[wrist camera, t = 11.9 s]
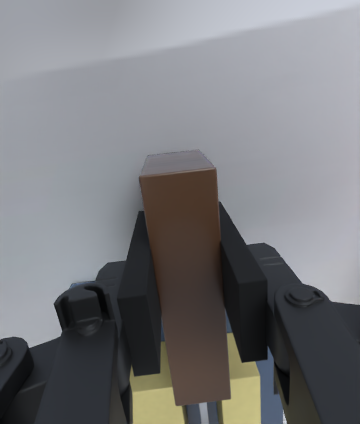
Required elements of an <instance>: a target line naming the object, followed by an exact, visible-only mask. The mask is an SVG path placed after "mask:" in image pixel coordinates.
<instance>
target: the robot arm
mask: <svg viewBox="0 0 360 424" xmlns="http://www.w3.org/2000/svg"><path fill="white" fill-rule="evenodd" d="M219 216H220V232H221V241H220V244H221V259H222V274H223V289H224V304H225V310H226V313H227V316H228V320H229V323H230V326H231V329H232V333H233V336H234V339H235V343H236V346H237V349H238V352H239V356H240V359H241V362H242V363H246V362H254V361H262V360H268V347H269V350H270V352H271V354H272V356H273V359H274V372H273V390H274V395H278V392H279V395H280V399H281V403H282V406H283V410H284V414H285V417H286V421H287V424H360V305H355V304H344V303H337V302H331V301H330V300H329V298H328V297H327V296H326V295H325V294H324V293H323V292H322V291H320V290H319V289H317V288H315V287H313V286H309V285H305V284H302V282H301V281H300V280H299V279H298V277H297V276H296V275H295V274H294V272H293V271H292V270H291V268H290V267H289V266H288V265H287V264H286V263H285V261H284V260H283V258H282V257H280V255H279V253H278V252H277V251H276V250H275V248H273V247H271V246H269V245H267V244H266V243H258V244H250V245H246V243H245V242H244V240H243V238H242V237H241V235H240V233H239V232H238V230H237V228H236V227H235V225H234V224H233V222H232V220H231V219H230V217H229V215H228V214H227V212H226V210H225V209H224V207H223V205H222V204H221V202H219ZM54 306H55V309H56V312H57V316H58V319H59V322H60V325H61V328H62V333H61V336H60V337H58V338H56V339H54V340H51V341H49V342H46V343H43V344H40V345H37V346H35V347H32V348H29V347H28V344H27V342H26V341H25V340H24V339H22V338H18V337H10V338H4V339H1V340H0V424H133V394H132V389H131V385H130V380H129V379H130V372H131V365H132V369H133V373H134V377H136V376H144V375H152V374H160V367H161V310H160V304H159V298H158V291H157V285H156V279H155V273H154V267H153V261H152V254H151V249H150V244H149V238H148V232H147V226H146V219H145V213H144V211H139V212H138V216H137V220H136V224H135V228H134V232H133V236H132V240H131V244H130V248H129V252H128V256H127V259H126V261H119V262H111V263H107V264H106V265H105V266H104V267H103V268H102V269H101V270H100V271H99V272H98V275H97V277H96V281H95V282H94V283H85V284H81V285H78V286H75V287H73V288H71V289H69V290H67V291H65V292H64V293H63V294H61V295H60V296H59V297H58V298H57V300H56V301H55V303H54Z"/></svg>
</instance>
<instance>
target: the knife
mask: <svg viewBox="0 0 360 424" xmlns="http://www.w3.org/2000/svg"><path fill="white" fill-rule="evenodd" d="M139 182H140V188H141V195H142V201H143V207H144V213H145V219H146V226H147V232H148V238H149V244H150V249H151V254H152V261H153V267H154V273H155V279H156V285H157V291H158V298H159V304H160V310H161V319H162V325H163V332H164V338H165V344H166V350H167V356H168V363H169V369H170V375H171V381H172V388H173V394H174V400H175V405H176V406H183V405H191V404H199V409H200V417H201V424H209V419H208V410H207V402H214V401H222V400H230V399H231V387H230V371H229V356H228V340H227V325H226V310H225V304H224V289H223V274H222V259H221V244H220V241H221V232H220V216H219V201H218V185H217V170H216V167H215V166H214V165H213V164H212V163H211V162H210V161H209V160H208V159H207V158H206V157H205V155H204V154H203V153H202V152H201V151H200V150H191V151H182V152H174V153H165V154H157V155H148V156H147V158H146V161H145V163H144V166H143V168H142V171H141V173H140V176H139Z"/></svg>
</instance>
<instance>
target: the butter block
mask: <svg viewBox="0 0 360 424" xmlns="http://www.w3.org/2000/svg"><path fill="white" fill-rule="evenodd" d="M129 380H130V385H131V389H132V394H133V424H189V423H188V416H187V409H186V405H183V406H176V405H175V400H174V394H173V388H172V381H171V375H170V369H169V363H168V356H167V350H166V344H165V341H163V342H161V367H160V374H152V375H144V376H136V377H134V373H133V369H132V365H131V372H130V379H129Z"/></svg>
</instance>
